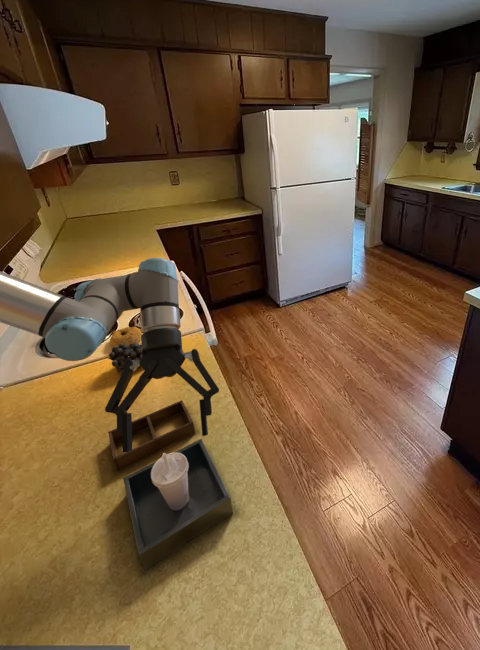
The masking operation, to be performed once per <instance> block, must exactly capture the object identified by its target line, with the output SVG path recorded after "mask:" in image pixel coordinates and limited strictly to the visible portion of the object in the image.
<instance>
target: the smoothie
mask: <svg viewBox="0 0 480 650" xmlns="http://www.w3.org/2000/svg"><path fill="white" fill-rule="evenodd" d="M156 461H157V462H156ZM156 461H155V462H156V463H155V464H154V466H153V467H152V470H151V479H152V483H153V484H154V485H155V486H157V487H158V489H159V490H160V492H161V494H162V495H163V497H164V499H165V500H166V502H167V504H168V505H169V507H170V508H171V509H172V510H180V509H182V508H183V507H184V506H185V505H186V504H187V502H188V500H189V493H188V476H187V472H188V468H189V466H188V461H187V459H186V457H185V456H184V455H183V454H181V453H174V452H170V453H166V452H163V453H162V456H161V457H160V458H158V459H157V460H156Z"/></svg>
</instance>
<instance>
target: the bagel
mask: <svg viewBox="0 0 480 650" xmlns="http://www.w3.org/2000/svg"><path fill="white" fill-rule="evenodd" d="M142 334H143V332H142V331H141V328H139V327H136V326H132V327H131V326H126V327H124V328H123V327H122V328H120V329H117V330H114V331H113V332H112V333H111V337H110V339H109V344H110V346H111V347H114V346H117V347H119V344H121V343H123V344H124V345H128V346H129V345H130V344H131V343H135V344H136V343H137V344H139V343H140V341H141V335H142Z"/></svg>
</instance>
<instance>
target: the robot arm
mask: <svg viewBox="0 0 480 650" xmlns="http://www.w3.org/2000/svg"><path fill="white" fill-rule="evenodd" d="M75 290H76V292H75V293H74V299H73V298H70V297H67V296H64V295H62V294H59V293H57V292H54V291H52V290H49V289H48V288H47V289H46V288H44V287H41V286H39V285H36V284H34V283H32V282H29V281H26V280H23V279H22V278H19V277H16V276H13V275H11V274H8V273H6V272H4V271H1V270H0V323H1V324H4V325H6V326H8V325H10V327H13V328H16V329H18V330H21V331H25V332H27V333H31V334H33V335H36V336H39V337H42V338H44V344H45V347H46V348H47V350H48V351H49V353H52V354H53V355H55V358H58V359H60V360H62V361H68V362H78V361H83V360H86V359H88V358H89V357H91V356H92V355H93V354H94V353H95V352H96V350H98V348H99V347H100V346H101V345H102V343H104V342H105V341H106V339H107V336H108V334H109V333H110V331H111V329H113V327H114V325H115V324H116V323H117V321H118V320H119V319H120V317H121V315H122V314H123V313H124V312H126V311H127V312H128V311H133V310H139V309H140V311H139V313H140V330H141V332H142V333H141V334H142V335H141V340H140V341H141V343H140V344H141V345H142V357H141V359H140V360H130V359H126V360H125V361H124V366H123V371H122V372H121V374H120V376H119V379H118V381H117V382H116V385H115V387H114V388H113V391H112V393H111V394H110V397H109V400H108V402H107V403H106V406H105V408H104V411H105V412H106V413H110V414H114V415H115V416H116V428H117V432H118V433H122V432H123V440H122V454H123V453H125V452H128V451H131V450H132V449H133V435H132V421H133V420H132V419H133V418H132V412H128V411H129V410H130V408H131V407H132V406H133V404H134V403H135V401H136V400H137V398H138V397H139V396H140V394H141V393H142V392H143V390H144V389H145V388H146V386H147V385H148V384H149V383H150V382H151V381H152V379H154V380H160V379H163V378H173V377H175V376H176V375H178V376H179V377H181V378H182V379H183V380H184V381H185V382H186V383H187V384H188V385H190V387H192V388H193V389H194V391H196V392H197V393H198V394H199V395H200V396H202V397H203V398H202V399H199V411H200V412H199V413H200V424H201V435H202V437H205V436H208V435H209V430H208V429H209V428H208V419H207V417H209V416H212V413H213V409H212V398H213V396H215V395H216V394H219V392H220V388H219V387H218V385H217V383H216V381H214V379H213V378H212V376H211V374H210V373H209V372H208V370H207V368H206V367H205V366H204V363H203V361H201V357H200V352H199V351H198V350H197V348H193V349H191V351H187V352H184V350H183V342H182V341H183V339H182V331H181V330H180V328H181V326H182V324H181V315H180V303H179V280H178V275H177V269H176V265H175V263H173V262H172V261H171V260H170V259H167V258H162V257H150V258H146V259H145V260H142V261H140V263H139V264H138V269H137V272H133V273H130V274H123V275H117V276H111V277H104V278H95V279H92V280H88V281H84V282H82V283H80V284H79V285H78V286H77V287H76V289H75ZM186 359H187V360H188V361H189V362H191V363H193V364H194V366H195V367H196V370H198V372H199V373H200V375H201V376H202V378H203V379H204V381H205V382H206V384H207V386H208V387H209V388H210V389H208V390H207V389H206V387H204V386H203V385H201V383H200V382H198V381H197V380H196V379H195V378H194V377H193V376H191V374H189V373H188V372H187V371H186V370H185V369H184V368H183V367H182V365H183V364H184V363H185V360H186ZM138 366H139V367H141V369H142V370H143V372H142V373H141V374H140V376H139V378H138V379H137V381H136V382H135V383H134V385H133V387H132V388H131V389H130V391H129V392H128V393H127V395H126V396H125V397H124V395H125V392H126V390H127V388H128V386H129V384H130V382H131V380H132V377H133V375H134V373H135V372H136V371H137V369H138V368H139V367H138ZM123 397H124V399H123Z"/></svg>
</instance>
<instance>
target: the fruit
mask: <svg viewBox="0 0 480 650" xmlns="http://www.w3.org/2000/svg"><path fill="white" fill-rule="evenodd" d="M111 347H112V346H111ZM110 350H111V352H109V353H108V358H107V360H110V361H111V366H112V367H114V369H115V371H116V372H117V373H122V372H123V366H124V361H125V360H126V359H130V360H140V359H141V357H142V344H141V343H136V344H135V343H131V344H130V345H129V346H128V345H124V344H123V343H121V344H119V347H117V346H114V347H112V348H111V349H110ZM139 367H140V366H138V367H137V368H139Z"/></svg>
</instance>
